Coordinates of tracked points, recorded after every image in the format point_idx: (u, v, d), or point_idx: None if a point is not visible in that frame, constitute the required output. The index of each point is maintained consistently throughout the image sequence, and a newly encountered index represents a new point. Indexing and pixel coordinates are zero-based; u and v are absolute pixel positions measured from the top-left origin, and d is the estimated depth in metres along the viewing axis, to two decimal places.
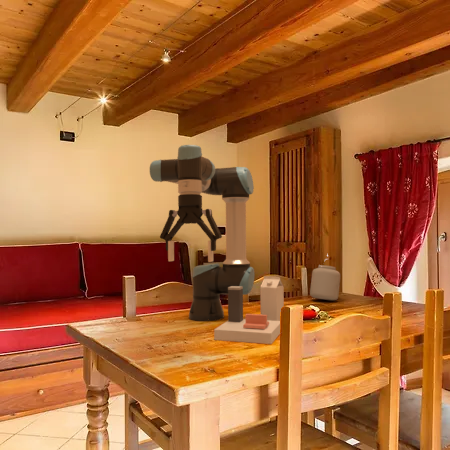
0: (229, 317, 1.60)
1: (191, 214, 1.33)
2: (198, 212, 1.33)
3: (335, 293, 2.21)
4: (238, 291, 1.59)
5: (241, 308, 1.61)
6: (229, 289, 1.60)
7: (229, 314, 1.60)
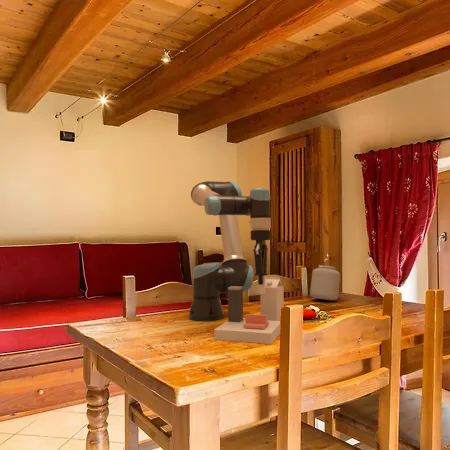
0: (229, 317, 1.60)
1: None
2: None
3: (335, 293, 2.21)
4: (238, 291, 1.59)
5: (241, 308, 1.61)
6: (229, 289, 1.60)
7: (229, 314, 1.60)
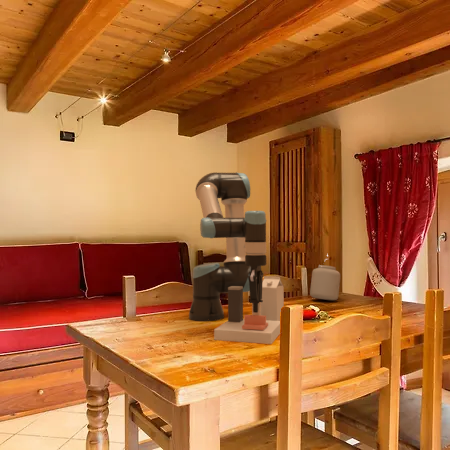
0: (229, 317, 1.60)
1: None
2: None
3: (335, 293, 2.21)
4: (238, 291, 1.59)
5: (241, 308, 1.61)
6: (229, 289, 1.60)
7: (229, 314, 1.60)
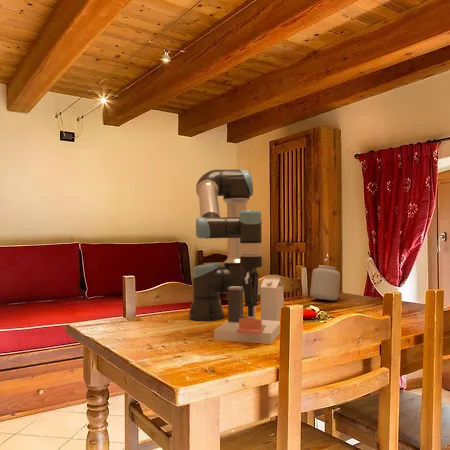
0: (229, 317, 1.60)
1: None
2: None
3: (335, 293, 2.21)
4: (238, 291, 1.59)
5: (241, 308, 1.61)
6: (229, 289, 1.60)
7: (229, 314, 1.60)
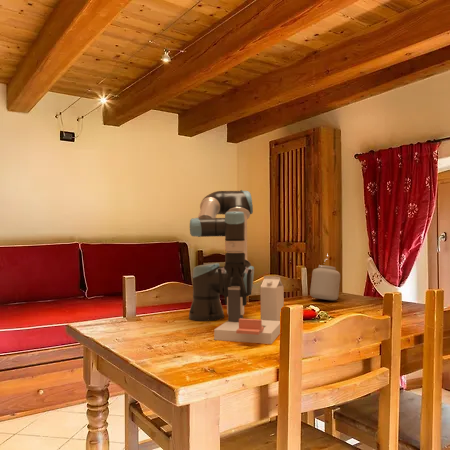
0: (229, 317, 1.60)
1: (236, 269, 1.60)
2: (242, 268, 1.60)
3: (335, 293, 2.21)
4: (238, 291, 1.59)
5: None
6: (229, 289, 1.60)
7: (229, 314, 1.60)
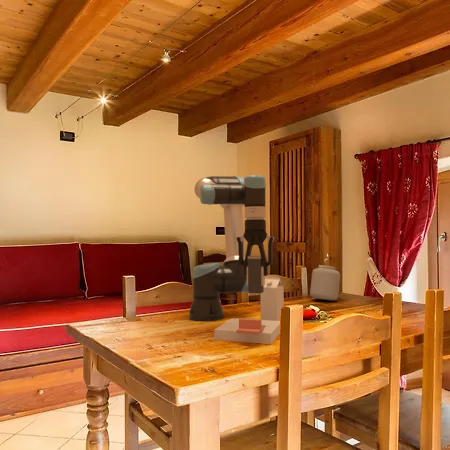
0: (249, 288, 1.49)
1: (257, 237, 1.49)
2: (263, 235, 1.49)
3: (335, 293, 2.21)
4: (259, 260, 1.49)
5: None
6: (249, 258, 1.50)
7: (249, 285, 1.49)
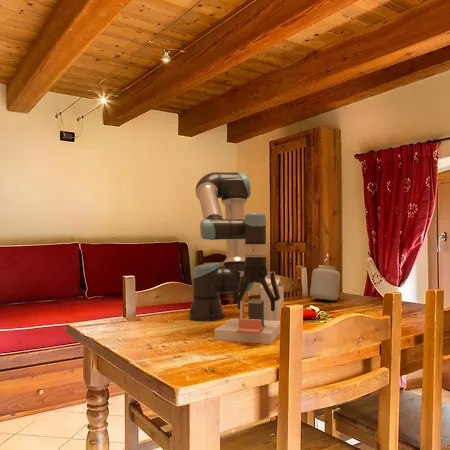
0: None
1: (257, 275, 1.49)
2: (264, 273, 1.49)
3: (335, 293, 2.21)
4: (259, 305, 1.48)
5: (262, 323, 1.50)
6: (249, 302, 1.49)
7: None
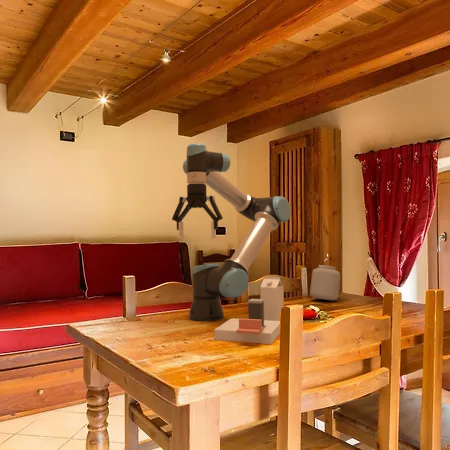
0: None
1: (197, 200, 1.64)
2: (203, 198, 1.64)
3: (335, 293, 2.21)
4: (259, 305, 1.48)
5: (262, 323, 1.50)
6: (249, 302, 1.49)
7: None
